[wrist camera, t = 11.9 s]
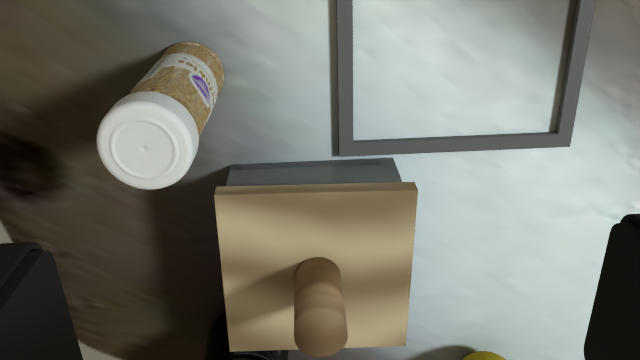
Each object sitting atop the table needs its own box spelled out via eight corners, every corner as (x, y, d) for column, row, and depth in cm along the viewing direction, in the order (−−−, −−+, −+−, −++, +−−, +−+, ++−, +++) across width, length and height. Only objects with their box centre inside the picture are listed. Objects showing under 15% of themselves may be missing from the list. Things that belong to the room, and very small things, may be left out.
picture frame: (334, -105, 34) (335, -105, 34) (612, -114, 34) (616, -114, 34) (339, 153, 41) (339, 156, 41) (566, 144, 42) (569, 146, 41)
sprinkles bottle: (238, 73, 39) (213, 150, 26) (194, 117, 40) (151, 210, 28) (187, 24, 37) (135, 82, 25) (143, 72, 38) (73, 149, 26)
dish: (231, 164, 41) (223, 196, 37) (392, 157, 42) (404, 188, 37) (245, 295, 47) (240, 337, 42) (389, 288, 47) (398, 329, 43)
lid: (216, 186, 37) (199, 246, 30) (414, 181, 37) (439, 240, 31) (231, 340, 42) (220, 418, 36) (402, 334, 43) (421, 411, 36)
